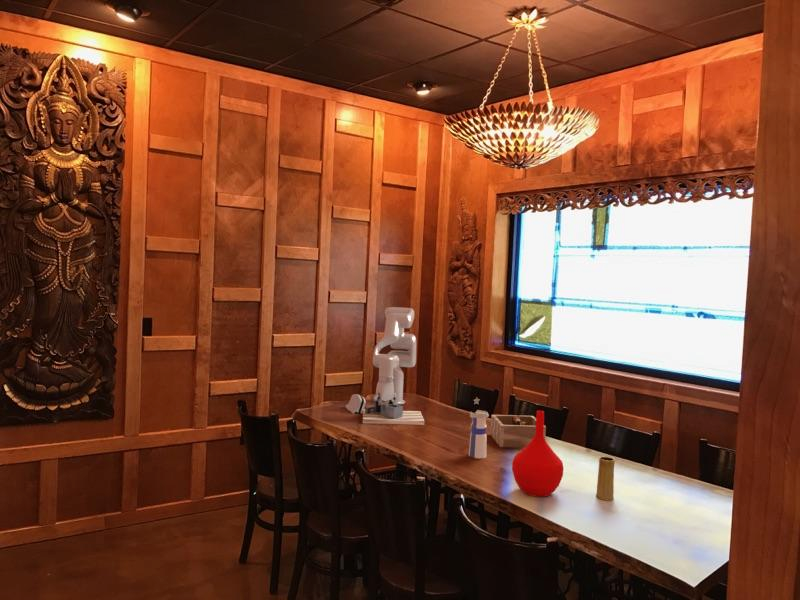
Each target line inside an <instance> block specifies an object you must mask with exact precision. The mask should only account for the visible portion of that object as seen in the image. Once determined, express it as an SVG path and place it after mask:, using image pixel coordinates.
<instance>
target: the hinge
mask: <svg viewBox="0 0 800 600" xmlns="http://www.w3.org/2000/svg"><path fill="white" fill-rule="evenodd" d="M366 403H367V401H366V399H365V397H364V396H362V395H361V394H356V393H354V394H352V395H351V397H350V400H349V401H348V403H346V404H345V407H346V408H347V409H346V408H345V409H346V410H348V411H349V410H350V411H351V412H350V411H349V412H350V413H352V414H354V415H355V413H359V414H361V415H363V410H365V407H366V406H365V405H366Z"/></svg>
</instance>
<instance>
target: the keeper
mask: <svg viewBox="0 0 800 600" xmlns="http://www.w3.org/2000/svg"><path fill="white" fill-rule="evenodd" d="M371 409H374V404H373V405H372V404H371V405H367V406H364V410H365V413H366V414H370V411H371Z"/></svg>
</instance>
